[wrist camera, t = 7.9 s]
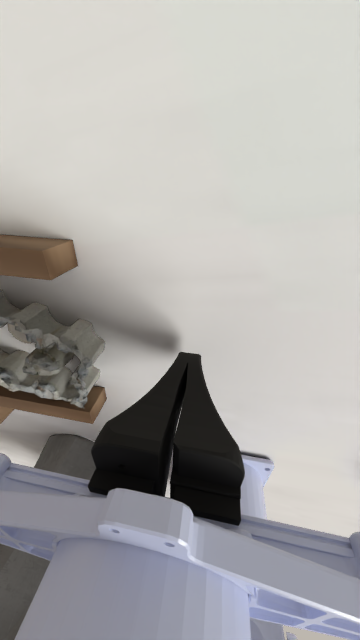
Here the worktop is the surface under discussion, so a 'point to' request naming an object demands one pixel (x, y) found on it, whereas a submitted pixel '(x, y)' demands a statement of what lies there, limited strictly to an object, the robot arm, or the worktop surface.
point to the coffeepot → (26, 569)
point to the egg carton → (49, 354)
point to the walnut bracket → (44, 263)
